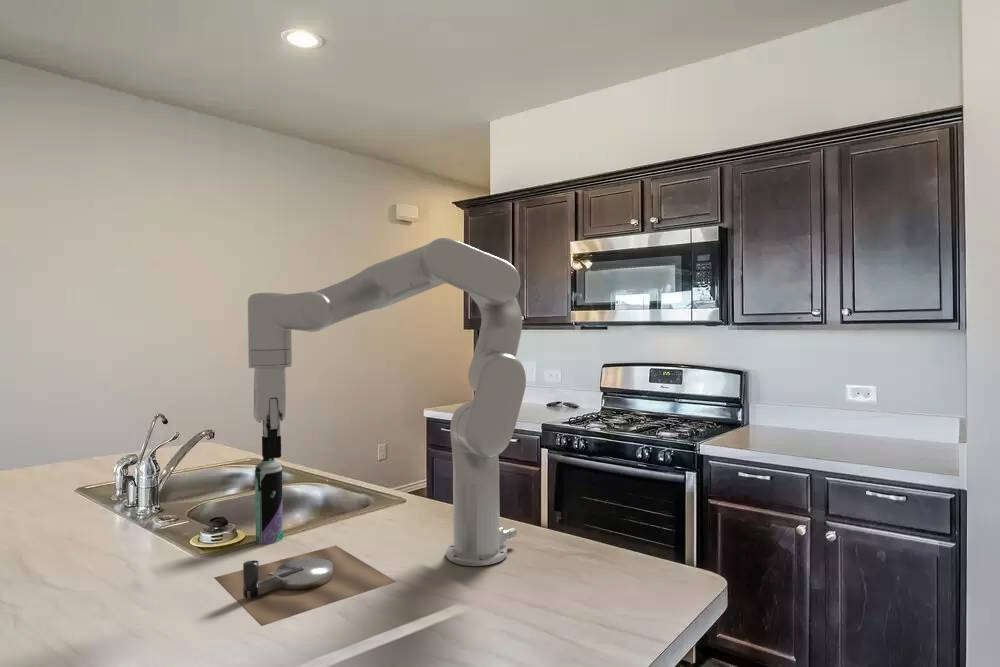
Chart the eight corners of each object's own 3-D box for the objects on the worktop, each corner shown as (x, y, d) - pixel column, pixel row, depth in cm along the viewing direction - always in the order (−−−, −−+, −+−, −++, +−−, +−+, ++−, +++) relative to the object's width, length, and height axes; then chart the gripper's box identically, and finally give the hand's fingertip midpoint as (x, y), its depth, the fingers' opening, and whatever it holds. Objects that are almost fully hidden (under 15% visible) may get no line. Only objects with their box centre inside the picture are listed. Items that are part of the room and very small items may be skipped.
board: (335, 552, 128) (335, 544, 128) (396, 589, 110) (396, 580, 110) (214, 585, 112) (214, 576, 112) (261, 635, 94) (261, 624, 94)
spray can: (274, 551, 129) (272, 457, 128) (250, 550, 130) (249, 456, 130) (288, 542, 134) (286, 451, 134) (265, 541, 135) (264, 450, 135)
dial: (313, 562, 118) (313, 533, 118) (343, 576, 112) (343, 545, 112) (230, 590, 106) (230, 557, 106) (259, 608, 99) (258, 573, 99)
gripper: (245, 358, 119) (247, 452, 119) (251, 362, 105) (253, 468, 106) (286, 356, 122) (287, 448, 122) (297, 360, 109) (298, 463, 109)
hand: (271, 457), depth 114 cm, fingers closed
